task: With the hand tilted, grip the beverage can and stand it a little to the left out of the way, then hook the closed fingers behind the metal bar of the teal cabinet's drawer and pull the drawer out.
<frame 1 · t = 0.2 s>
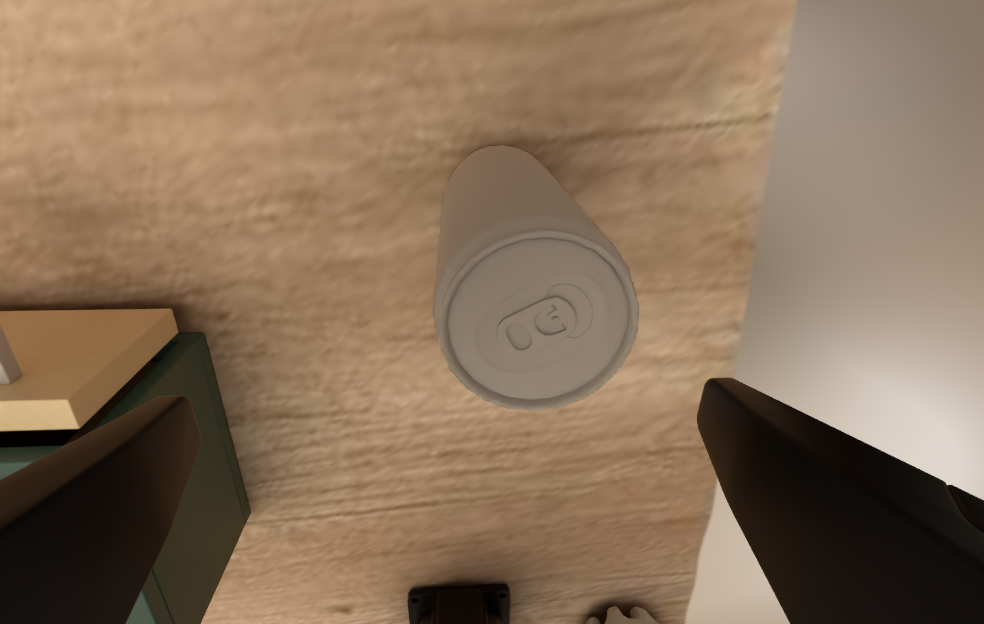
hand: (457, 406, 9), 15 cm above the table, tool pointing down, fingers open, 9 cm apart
bottle: (616, 623, 36), on the table
drawer: (11, 410, 20), point 4 cm above the table, slide at 0.5 cm
cabinet: (112, 434, 26), on the table
beverage can: (497, 199, 22), on the table
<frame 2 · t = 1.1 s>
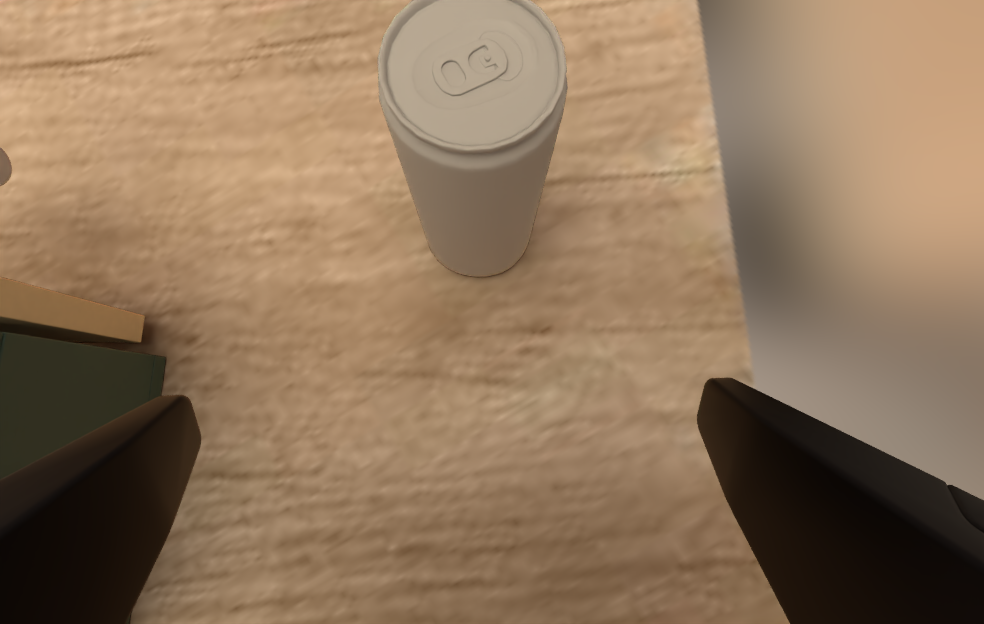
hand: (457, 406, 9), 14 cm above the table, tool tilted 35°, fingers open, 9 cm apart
cabinet: (9, 490, 22), on the table
beverage can: (478, 233, 24), on the table
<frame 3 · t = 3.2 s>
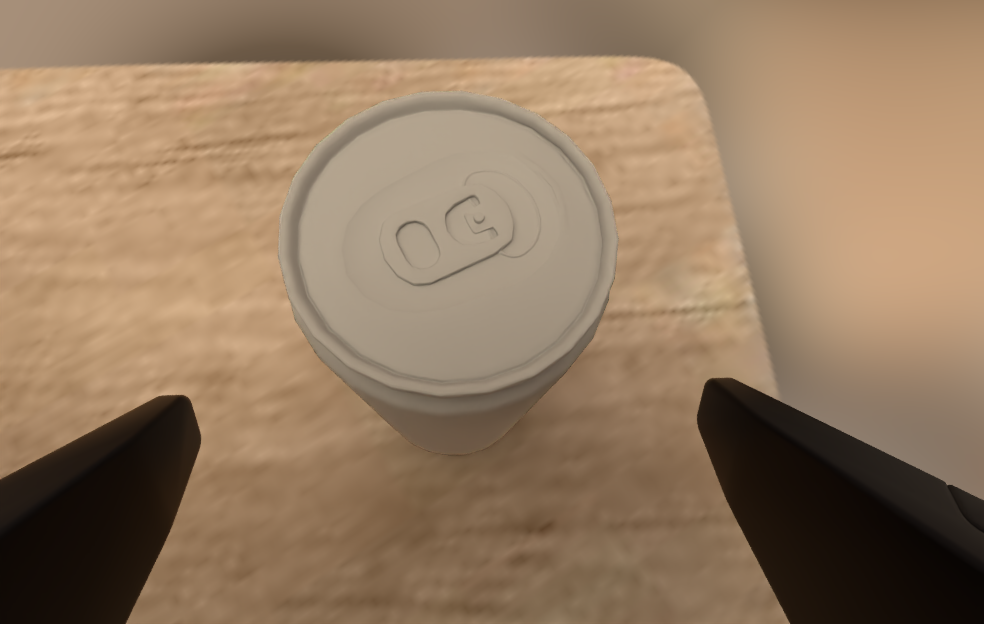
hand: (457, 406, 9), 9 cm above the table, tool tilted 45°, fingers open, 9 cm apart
beverage can: (453, 389, 18), on the table
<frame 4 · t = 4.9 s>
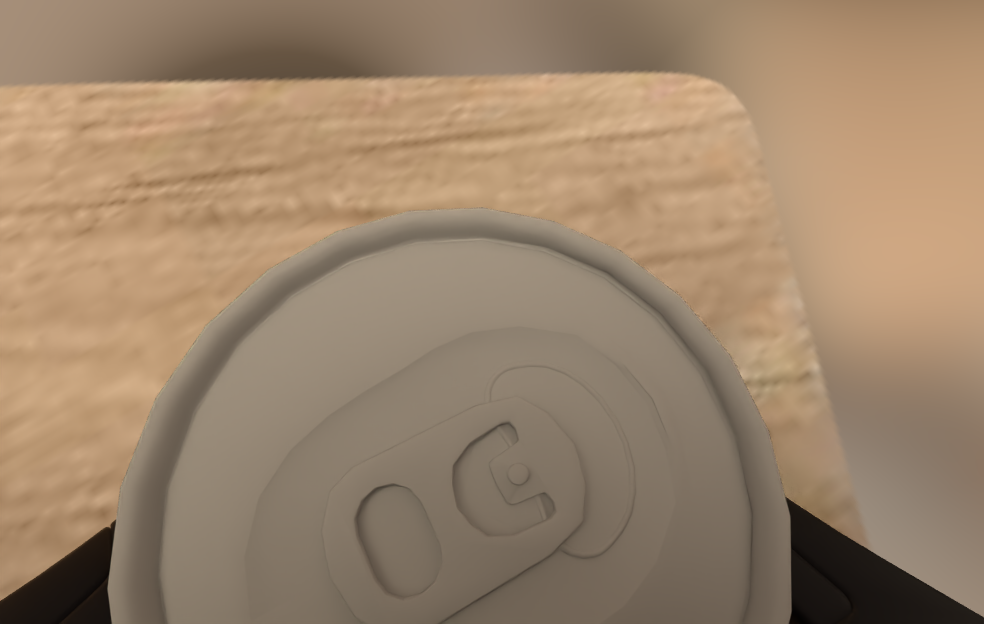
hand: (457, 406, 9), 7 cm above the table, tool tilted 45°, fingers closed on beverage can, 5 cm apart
beverage can: (458, 487, 15), on the table, touching gripper
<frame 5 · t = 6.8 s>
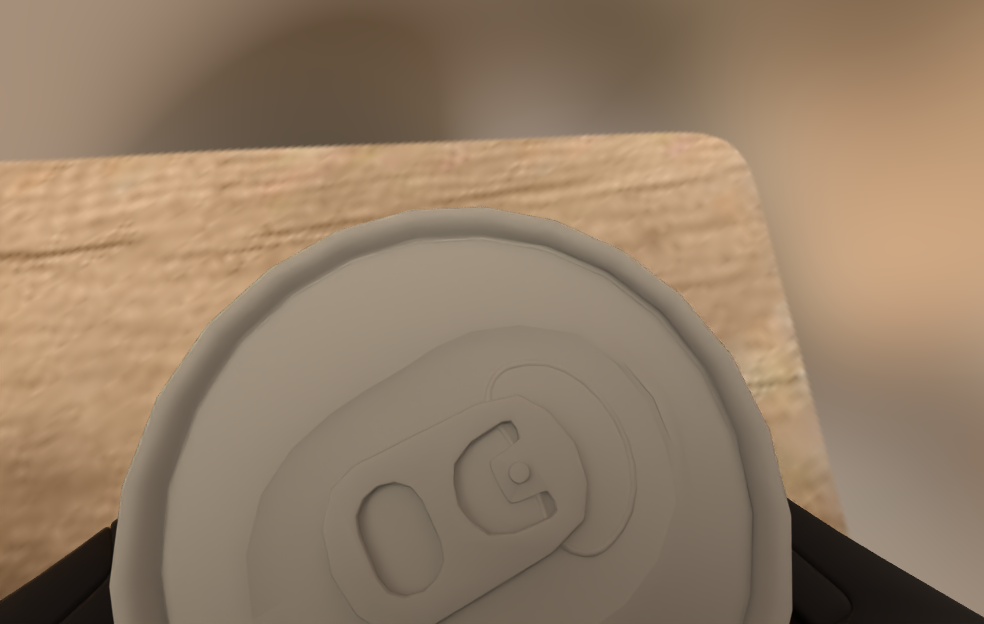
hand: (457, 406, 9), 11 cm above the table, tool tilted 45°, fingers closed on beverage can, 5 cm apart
beverage can: (458, 486, 15), point 4 cm above the table, touching gripper
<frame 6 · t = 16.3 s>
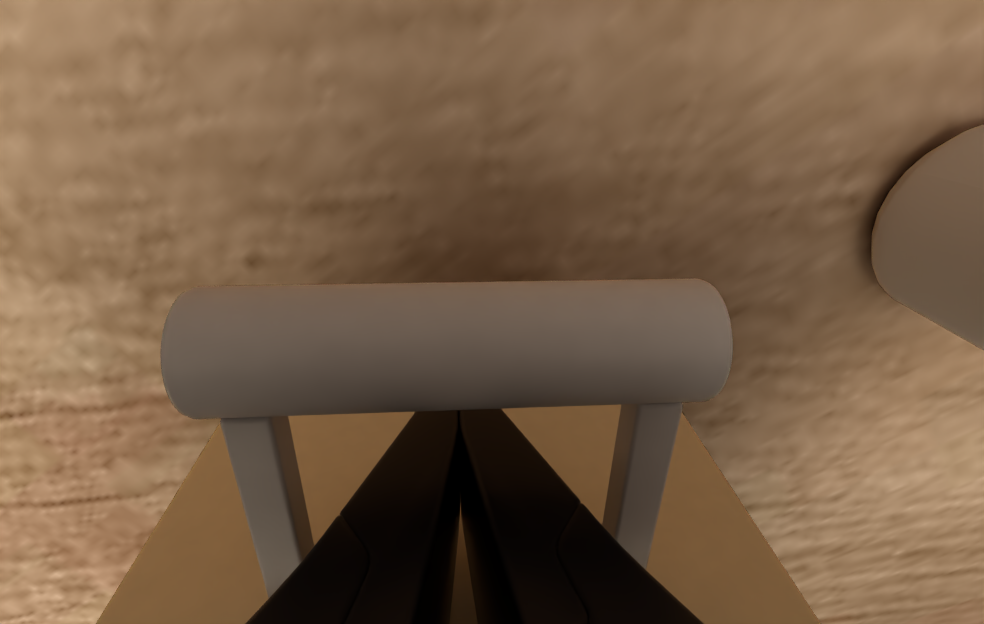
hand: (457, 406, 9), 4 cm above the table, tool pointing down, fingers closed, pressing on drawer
drawer: (460, 573, 11), point 4 cm above the table, slide at 0.0 cm, touching gripper
beverage can: (944, 213, 13), on the table
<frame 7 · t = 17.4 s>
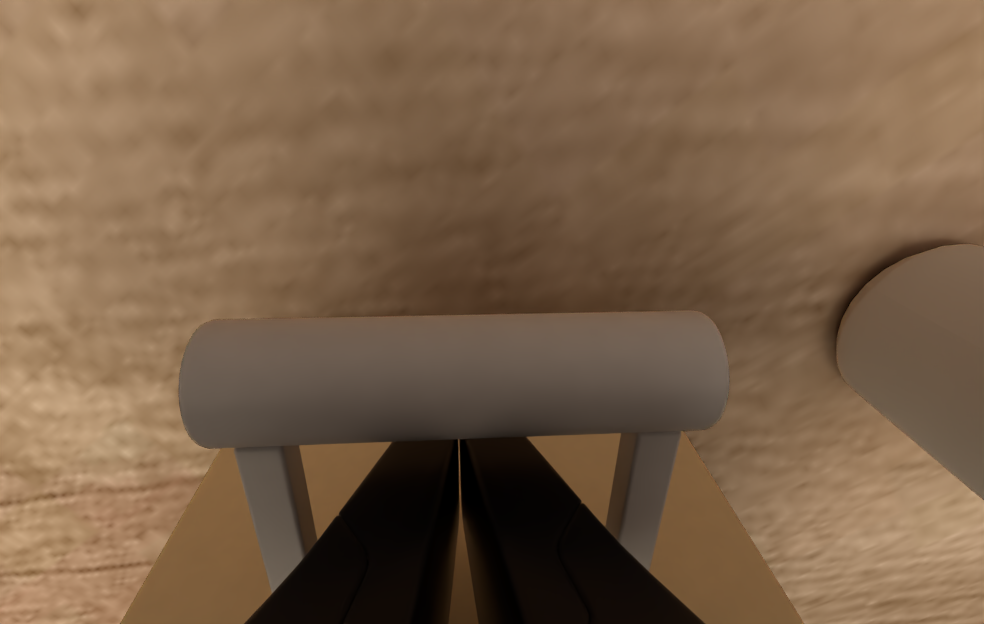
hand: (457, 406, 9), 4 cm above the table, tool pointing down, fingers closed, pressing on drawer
drawer: (463, 586, 11), point 4 cm above the table, slide at 2.5 cm, touching gripper
beverage can: (903, 315, 14), on the table
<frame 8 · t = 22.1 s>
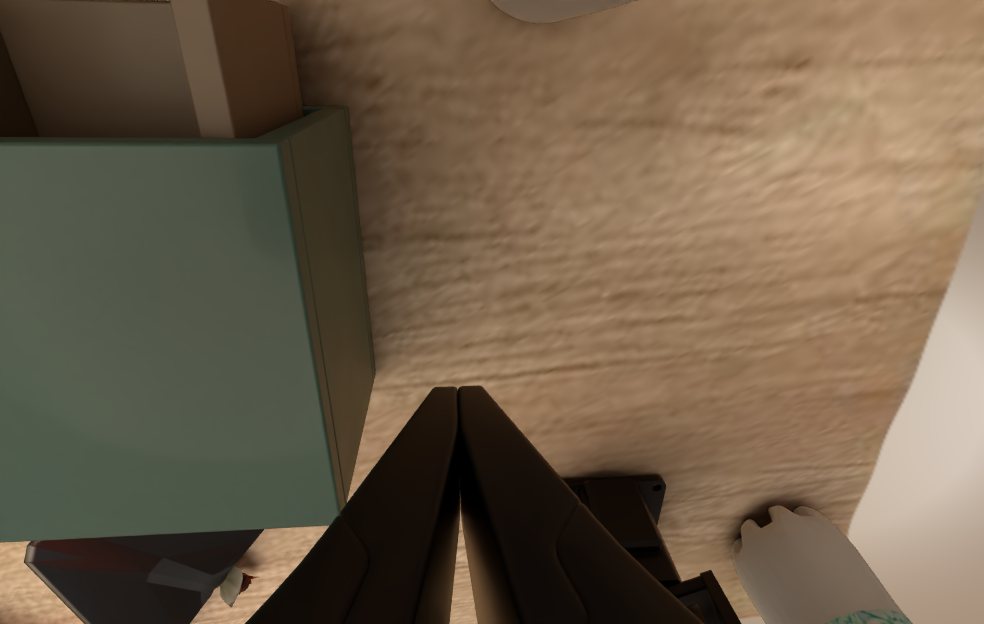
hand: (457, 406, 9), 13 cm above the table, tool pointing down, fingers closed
black paper airplane: (43, 519, 24), point 1 cm above the table
bottle: (771, 529, 31), on the table
drawer: (76, 3, 13), point 4 cm above the table, slide at 4.3 cm
cabinet: (218, 258, 21), on the table
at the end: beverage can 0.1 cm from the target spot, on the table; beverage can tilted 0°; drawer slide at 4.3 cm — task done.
